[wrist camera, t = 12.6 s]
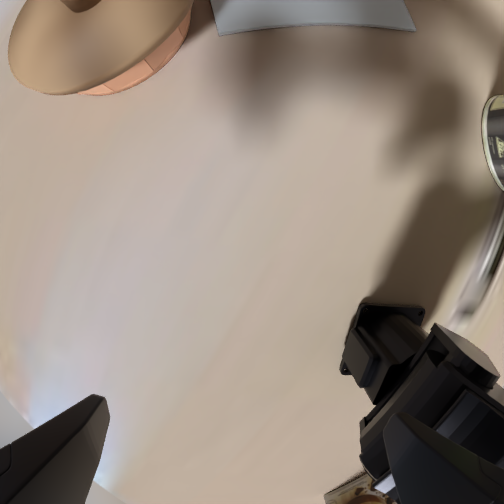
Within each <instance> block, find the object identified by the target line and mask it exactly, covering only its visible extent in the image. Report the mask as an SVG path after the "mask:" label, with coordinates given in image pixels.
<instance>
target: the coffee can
mask: <svg viewBox="0 0 504 504" xmlns="http://www.w3.org/2000/svg"><path fill="white" fill-rule="evenodd" d="M482 139H483V146H484V152H485V156H486V160H487V163H488V166H489V169H490V171H491V174H492V176H493V178H494V180H495V181H496V183H497V185H498V186H499V187H500V188H501V189H502V190H503V191H504V95H496V96H493V97H492V98H490V99H489V100H488V102H487V103H486V105H485V108H484V111H483V117H482Z"/></svg>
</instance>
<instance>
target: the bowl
mask: <svg viewBox="0 0 504 504" xmlns="http://www.w3.org/2000/svg"><path fill="white" fill-rule="evenodd" d="M191 9H192V6H191V8H190V10H189V12H188V13H187V15H186V16H185V18H184V19H183V21H182V22H181V23H180V25H179V26H178V27H177V28H176V30H175V31H174V32H173V33H172V34H171V35H170V36H169V37H168V38H167V39H166V40H165V41H164V42H163V43H162V44H161V45H160V46H159V47H158V48H157V49H156V50H155V51H153V52H152V53H151V54H150V55H148V56H147V57H146V58H145V59H143V60H142V61H141V62H139V63H138V64H136V65H135V66H133V67H132V68H130V69H129V70H128V71H126V72H124V73H122V74H121V75H119V76H117V77H116V78H114V79H112V80H110V81H108V82H106V83H104V84H102V85H99V86H97V87H94V88H91V89H89V90H86V91H82V92H78V93H77V94H86V95H92V96H102V95H110V94H114V93H118V92H121V91H124V90H127V89H129V88H132V87H134V86H136V85H138V84H140V83H141V82H143V81H145V80H147V79H148V78H149V77H151V76H152V75H154V74H155V73H156V72H158V71H159V70H160V69H161V68H162V67H164V66H165V65H166V64H167V63H168V62H169V61H170V60H171V58H172V57H173V56H174V55H175V54H176V52H177V51H178V50H179V48H180V47H181V45H182V44H183V42H184V40H185V38H186V36H187V33H188V30H189V27H190V21H191Z"/></svg>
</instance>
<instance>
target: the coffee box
mask: <svg viewBox="0 0 504 504" xmlns="http://www.w3.org/2000/svg"><path fill="white" fill-rule="evenodd" d="M374 482H375V481H374V480H373V479H372V478H371V477H370V476H369V475H368V474H365V475H364V476H362V477H360V478H358V479H356V480H354V481H352V482H350V483H348V484H346V485H344V486H342V487H340V488H338V489H336V490H334V491H332V492H330V493H328V494H326V495H324V499H325V503H326V504H397V503H396V502H395V501H394V500H393V499H391V498H390V497H389V496H388V495H386V494H385V493H383V492H381V491H379V490H377V489H375V488H374V487H373V486H372V483H374Z"/></svg>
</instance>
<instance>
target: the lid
mask: <svg viewBox="0 0 504 504" xmlns="http://www.w3.org/2000/svg"><path fill="white" fill-rule="evenodd" d="M193 2H194V0H27V1H26V3H25V4H24V6H23V7H22V9H21V11H20V13H19V15H18V17H17V19H16V21H15V23H14V26H13V29H12V32H11V35H10V40H9V45H8V60H9V65H10V69H11V71H12V73H13V75H14V77H15V78H16V79H17V80H18V82H19V83H21V84H22V85H24V86H25V87H27V88H30V89H33V90H36V91H38V92H41V93H44V94H49V95H68V94H74V93H78V92H82V91H86V90H89V89H91V88H94V87H97V86H99V85H102V84H104V83H106V82H108V81H110V80H112V79H114V78H116V77H117V76H119V75H121V74H122V73H124V72H126V71H128V70H129V69H130V68H132V67H133V66H135V65H136V64H138V63H139V62H141V61H142V60H143V59H145V58H146V57H147V56H148V55H150V54H151V53H152V52H153V51H155V50H156V49H157V48H158V47H159V46H160V45H161V44H162V43H163V42H164V41H165V40H166V39H167V38H168V37H169V36H170V35H171V34H172V33H173V32H174V31H175V30H176V28H177V27H178V26H179V25H180V23H181V22H182V21H183V19H184V18H185V16H186V15H187V13H188V12H189V10H190V8H191V6H192V4H193Z"/></svg>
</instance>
